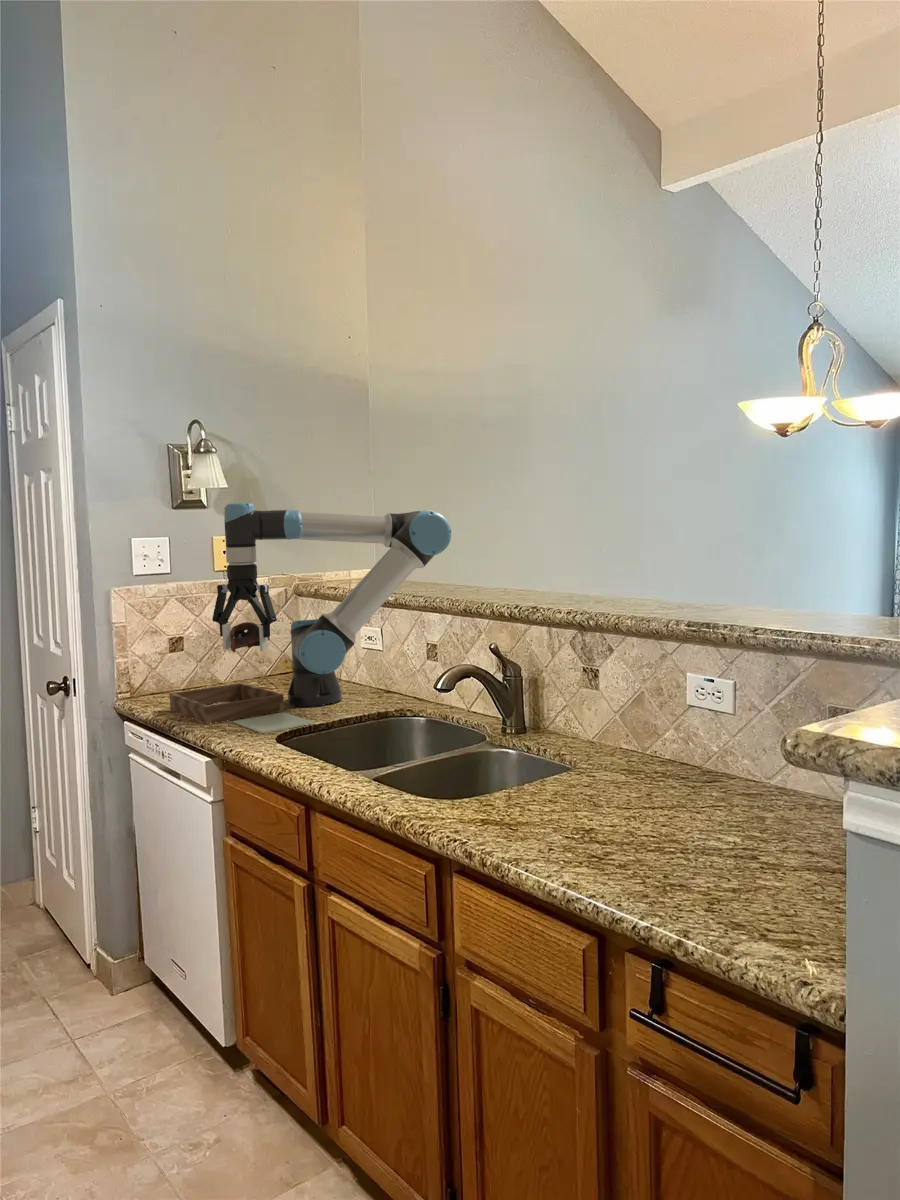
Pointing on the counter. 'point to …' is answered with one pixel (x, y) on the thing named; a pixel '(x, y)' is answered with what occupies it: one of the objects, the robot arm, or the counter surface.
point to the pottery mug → (244, 636)
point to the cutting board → (272, 722)
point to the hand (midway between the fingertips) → (245, 649)
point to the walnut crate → (252, 705)
